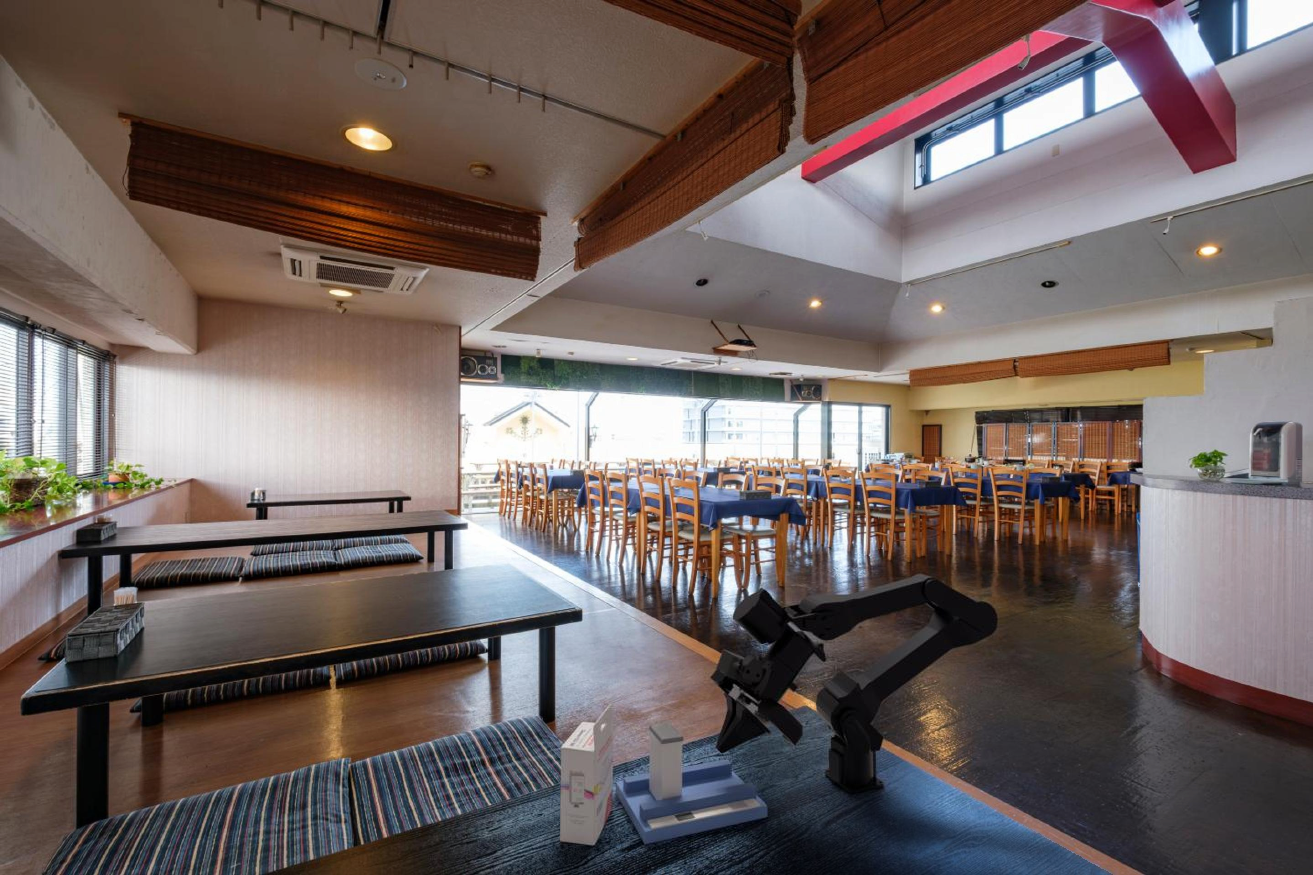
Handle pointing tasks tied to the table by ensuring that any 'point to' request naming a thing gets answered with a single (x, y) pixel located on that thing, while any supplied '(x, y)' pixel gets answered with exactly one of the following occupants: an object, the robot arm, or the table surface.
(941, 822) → the table surface
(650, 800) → the blue railed tray
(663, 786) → the switch tab
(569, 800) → the ink cartridge box
